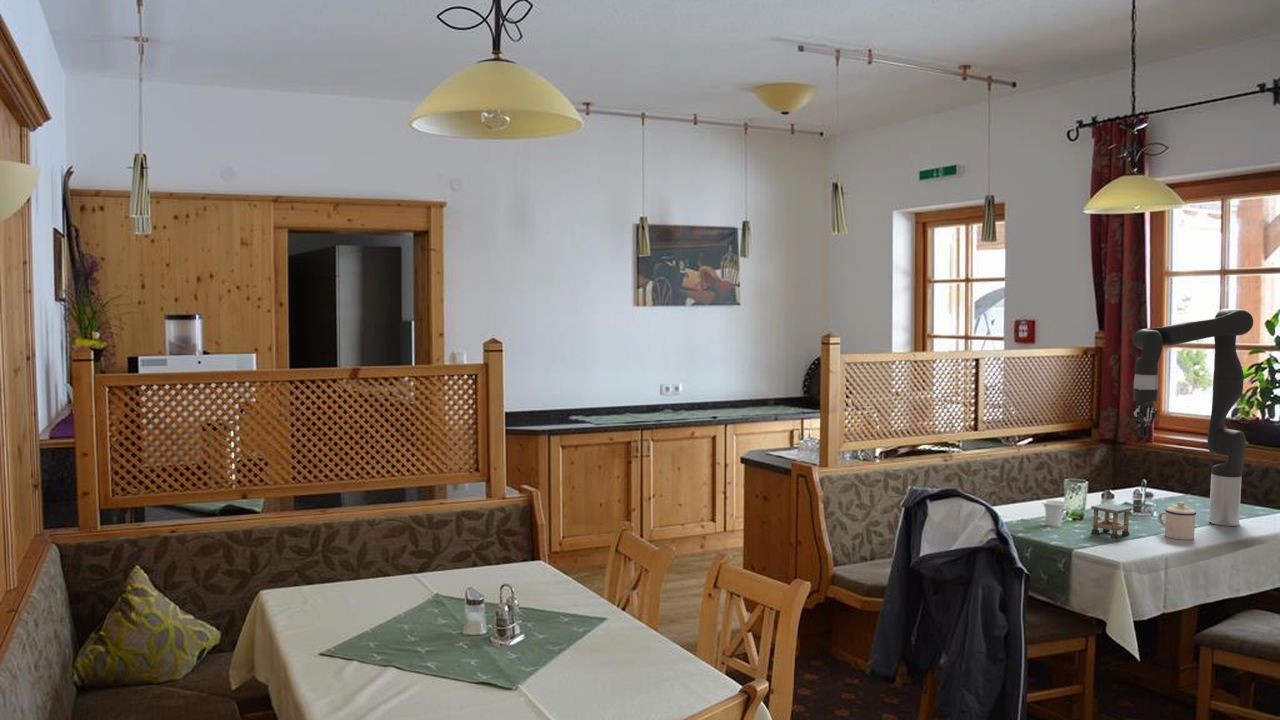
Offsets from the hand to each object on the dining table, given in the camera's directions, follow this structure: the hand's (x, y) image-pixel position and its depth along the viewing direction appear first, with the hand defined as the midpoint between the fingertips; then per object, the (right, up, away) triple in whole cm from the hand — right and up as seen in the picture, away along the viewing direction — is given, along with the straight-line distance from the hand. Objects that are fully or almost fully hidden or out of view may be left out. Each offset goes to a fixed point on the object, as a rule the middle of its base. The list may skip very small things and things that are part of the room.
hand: (1143, 436), depth 356 cm
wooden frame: (-14, -27, -11) cm, 32 cm away
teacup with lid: (+3, -32, -15) cm, 35 cm away
